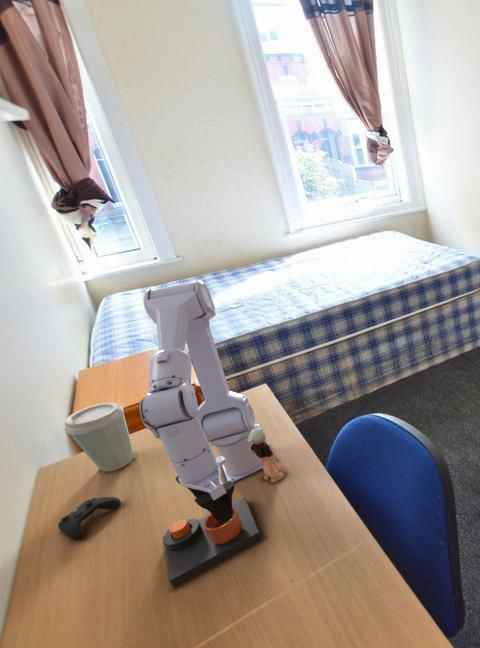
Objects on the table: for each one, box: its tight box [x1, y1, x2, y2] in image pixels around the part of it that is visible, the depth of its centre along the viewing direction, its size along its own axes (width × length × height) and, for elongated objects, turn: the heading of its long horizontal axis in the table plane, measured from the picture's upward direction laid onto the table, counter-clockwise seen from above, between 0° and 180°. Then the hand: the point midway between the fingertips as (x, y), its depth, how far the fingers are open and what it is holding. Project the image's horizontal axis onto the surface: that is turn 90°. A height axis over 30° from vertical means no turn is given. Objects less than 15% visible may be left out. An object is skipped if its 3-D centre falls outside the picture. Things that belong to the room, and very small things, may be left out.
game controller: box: [57, 496, 122, 541], centre depth 95 cm, size 10×5×6 cm
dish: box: [203, 507, 243, 544], centre depth 86 cm, size 5×5×4 cm
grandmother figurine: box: [248, 427, 285, 483], centre depth 100 cm, size 8×4×13 cm, turn 71°
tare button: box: [169, 519, 190, 539], centre depth 86 cm, size 3×3×2 cm
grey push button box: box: [162, 496, 263, 589], centre depth 87 cm, size 14×12×4 cm
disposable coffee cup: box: [63, 401, 134, 473], centre depth 109 cm, size 11×11×15 cm
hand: (217, 510), depth 85 cm, fingers open, 7 cm apart
